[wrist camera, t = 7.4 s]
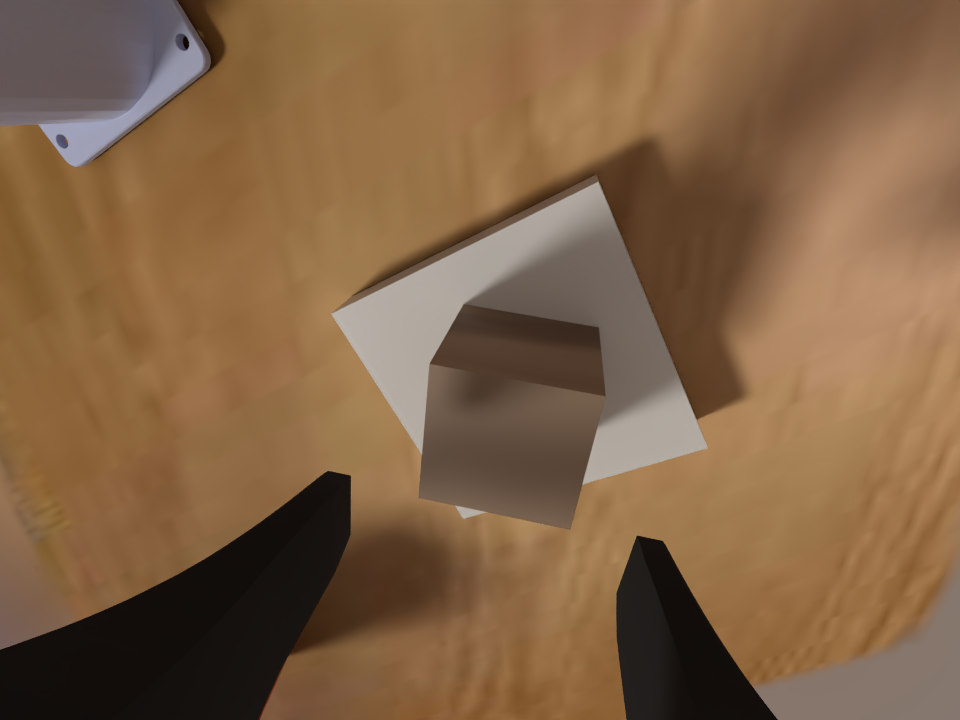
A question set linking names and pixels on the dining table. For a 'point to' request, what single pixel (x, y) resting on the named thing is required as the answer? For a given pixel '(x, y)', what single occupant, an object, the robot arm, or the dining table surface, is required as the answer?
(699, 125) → the dining table surface
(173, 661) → the robot arm
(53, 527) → the dining table surface
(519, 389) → the walnut block
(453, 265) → the stoneware tile
